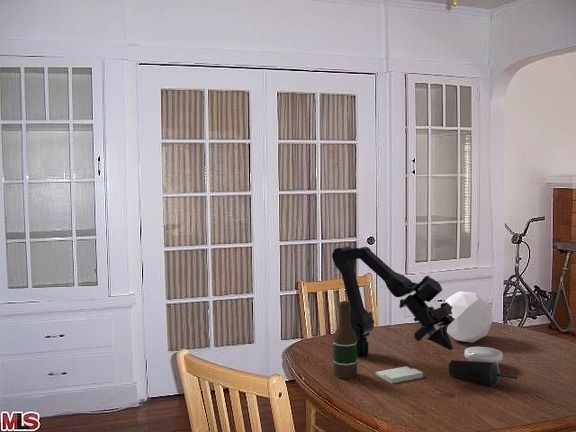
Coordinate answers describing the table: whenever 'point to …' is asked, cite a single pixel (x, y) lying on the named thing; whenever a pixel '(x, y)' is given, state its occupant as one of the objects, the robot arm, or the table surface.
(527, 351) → the table surface
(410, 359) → the table surface
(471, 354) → the bowl
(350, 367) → the beer bottle
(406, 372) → the napkin
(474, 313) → the ball
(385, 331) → the table surface
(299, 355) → the table surface
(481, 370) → the drinking cup
